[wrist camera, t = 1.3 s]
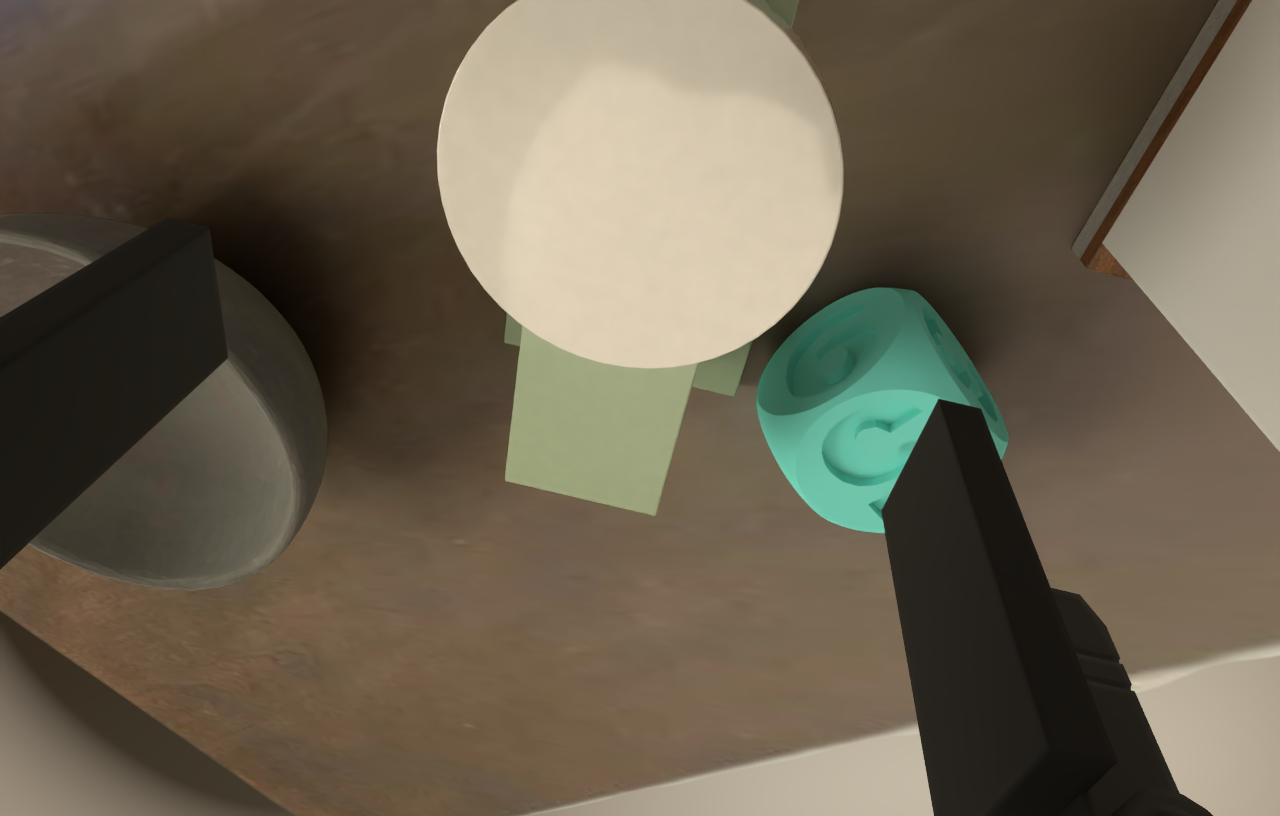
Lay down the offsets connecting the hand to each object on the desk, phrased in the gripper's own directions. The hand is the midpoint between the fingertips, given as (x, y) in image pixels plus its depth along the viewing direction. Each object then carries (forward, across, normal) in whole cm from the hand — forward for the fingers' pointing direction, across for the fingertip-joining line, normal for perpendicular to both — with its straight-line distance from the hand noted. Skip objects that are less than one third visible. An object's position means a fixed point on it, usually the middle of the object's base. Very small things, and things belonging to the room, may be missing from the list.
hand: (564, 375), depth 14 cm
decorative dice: (+23, +12, -11) cm, 28 cm away
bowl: (+23, -23, -19) cm, 37 cm away
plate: (+10, 0, 0) cm, 11 cm away
